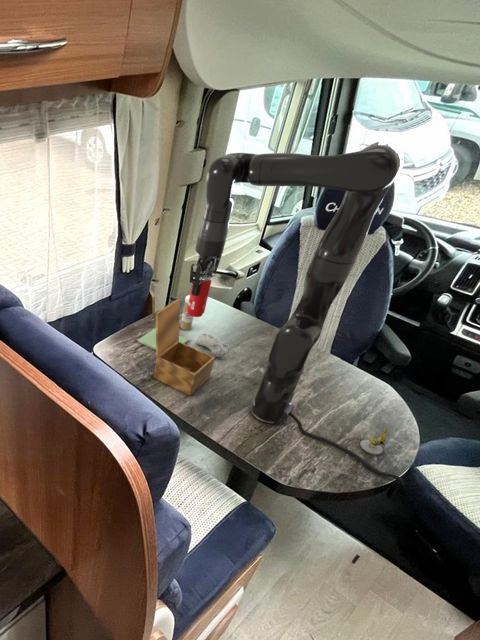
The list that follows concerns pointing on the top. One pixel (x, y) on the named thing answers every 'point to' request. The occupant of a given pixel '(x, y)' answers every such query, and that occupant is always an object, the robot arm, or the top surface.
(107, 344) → the top surface
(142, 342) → the pad
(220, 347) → the decorative stone
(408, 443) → the top surface
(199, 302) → the beverage can
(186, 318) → the sprinkles bottle
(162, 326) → the chest lid
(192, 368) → the chest
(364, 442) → the figurine
